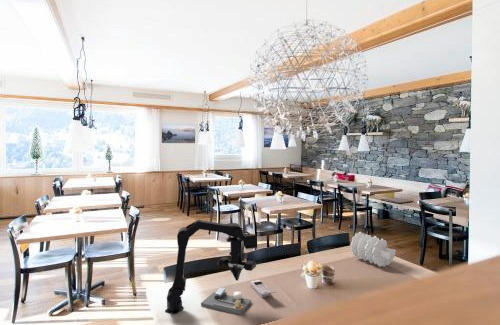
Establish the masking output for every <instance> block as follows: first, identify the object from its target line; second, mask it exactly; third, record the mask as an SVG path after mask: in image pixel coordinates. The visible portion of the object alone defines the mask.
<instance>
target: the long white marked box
mask: <svg viewBox="0 0 500 325" xmlns="http://www.w3.org/2000/svg"><path fill="white" fill-rule="evenodd" d="M250 286H251V287H252V289H253V290H254V291H255V292H256V293H257V294H258V296H260V298H265V297H270V296H271V294H274V293H277V290H275V291H271V290H270V289H269V288H268V287H267V286H266V285H265V284H264V283H263V281H261V280H260V279H258V280H251V281H250Z"/></svg>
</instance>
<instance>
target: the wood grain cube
mask: <svg viewBox="0 0 500 325" xmlns="http://www.w3.org/2000/svg"><path fill="white" fill-rule="evenodd" d="M240 307H241V300H236V301H235V308H238V309H239V308H240Z"/></svg>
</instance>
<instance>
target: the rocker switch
mask: <svg viewBox="0 0 500 325" xmlns="http://www.w3.org/2000/svg"><path fill="white" fill-rule="evenodd" d="M226 291H227V290H226V288H225V287H221V286H220V287H219V288H218V289H217V290H216V291H215V295H217V296H221V295H222V294H223V293H224V292H226Z"/></svg>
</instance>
